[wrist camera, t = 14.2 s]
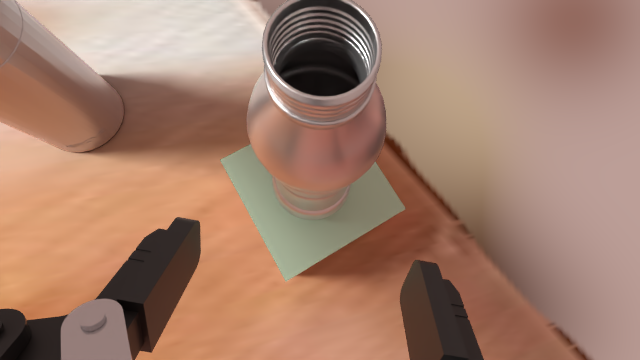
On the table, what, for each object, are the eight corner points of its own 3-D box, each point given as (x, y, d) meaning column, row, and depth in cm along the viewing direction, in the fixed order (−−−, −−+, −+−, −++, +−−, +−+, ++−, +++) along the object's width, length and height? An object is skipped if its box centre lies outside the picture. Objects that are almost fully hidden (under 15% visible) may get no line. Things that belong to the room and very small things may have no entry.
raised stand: (238, 180, 37) (220, 159, 29) (333, 129, 39) (339, 97, 31) (290, 276, 35) (285, 281, 27) (388, 217, 37) (410, 206, 29)
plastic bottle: (337, 143, 30) (394, -64, 11) (355, 214, 29) (461, 126, 9) (268, 158, 29) (194, -34, 10) (283, 231, 28) (232, 175, 8)
